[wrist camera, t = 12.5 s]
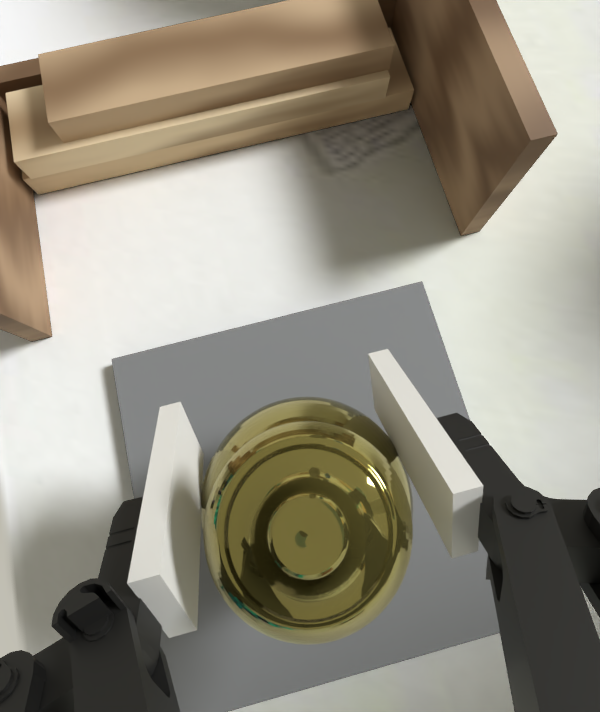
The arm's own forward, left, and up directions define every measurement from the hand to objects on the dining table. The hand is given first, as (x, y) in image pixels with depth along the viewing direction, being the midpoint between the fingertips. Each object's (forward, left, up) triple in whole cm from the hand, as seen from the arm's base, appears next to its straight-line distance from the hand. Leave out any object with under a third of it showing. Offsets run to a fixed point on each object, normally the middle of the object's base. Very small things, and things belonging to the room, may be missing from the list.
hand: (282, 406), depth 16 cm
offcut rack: (-13, -10, -7) cm, 18 cm away
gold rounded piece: (+3, +2, -4) cm, 5 cm away
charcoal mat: (+2, +2, -7) cm, 8 cm away
